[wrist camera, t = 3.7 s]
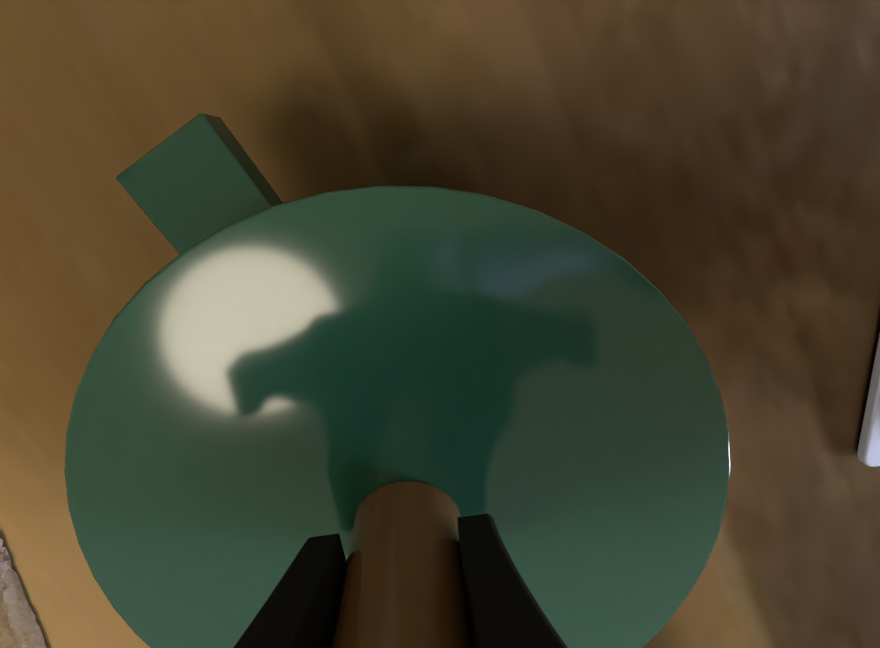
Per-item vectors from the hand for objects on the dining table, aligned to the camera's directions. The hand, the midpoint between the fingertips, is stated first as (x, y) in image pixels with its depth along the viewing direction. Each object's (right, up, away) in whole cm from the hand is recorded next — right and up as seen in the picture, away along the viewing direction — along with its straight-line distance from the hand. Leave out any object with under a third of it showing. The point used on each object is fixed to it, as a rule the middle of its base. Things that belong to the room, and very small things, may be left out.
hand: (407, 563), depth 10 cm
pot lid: (0, +1, +1) cm, 2 cm away
